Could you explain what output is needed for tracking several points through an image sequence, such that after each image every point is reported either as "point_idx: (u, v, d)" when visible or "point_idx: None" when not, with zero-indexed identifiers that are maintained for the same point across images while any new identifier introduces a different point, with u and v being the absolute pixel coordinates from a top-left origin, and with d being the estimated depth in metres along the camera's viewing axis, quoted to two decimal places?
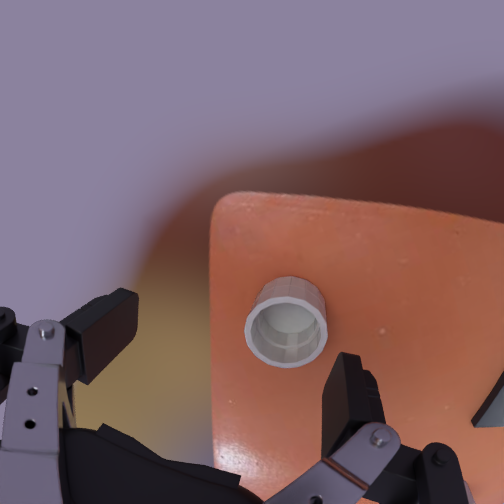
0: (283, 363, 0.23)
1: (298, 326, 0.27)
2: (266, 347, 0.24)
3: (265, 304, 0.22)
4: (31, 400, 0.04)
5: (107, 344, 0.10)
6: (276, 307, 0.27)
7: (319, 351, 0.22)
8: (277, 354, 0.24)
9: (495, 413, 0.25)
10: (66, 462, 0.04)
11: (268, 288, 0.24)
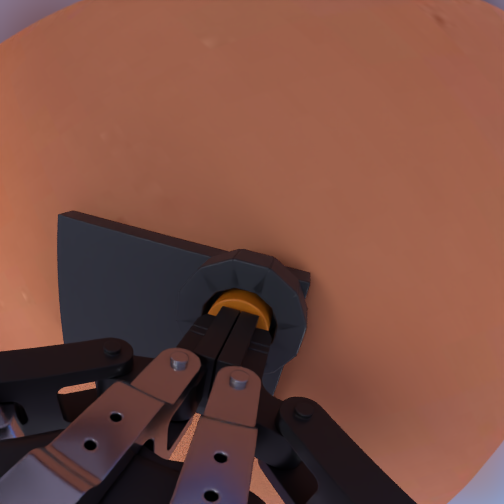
0: None
1: None
2: None
3: None
4: (108, 424, 0.05)
5: None
6: None
7: None
8: None
9: (86, 338, 0.17)
10: None
11: None
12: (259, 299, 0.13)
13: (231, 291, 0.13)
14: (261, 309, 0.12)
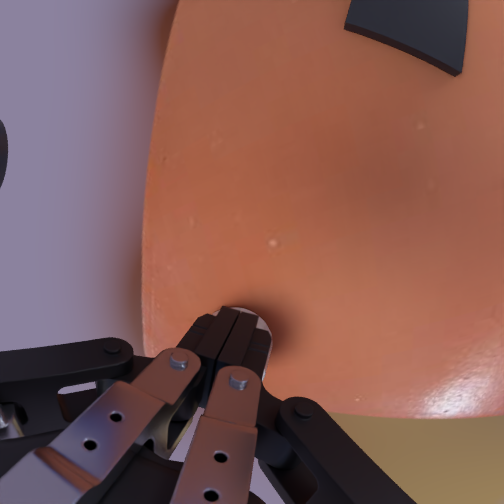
0: None
1: None
2: None
3: None
4: (108, 424, 0.05)
5: None
6: None
7: None
8: None
9: (438, 37, 0.16)
10: None
11: None
12: None
13: None
14: None
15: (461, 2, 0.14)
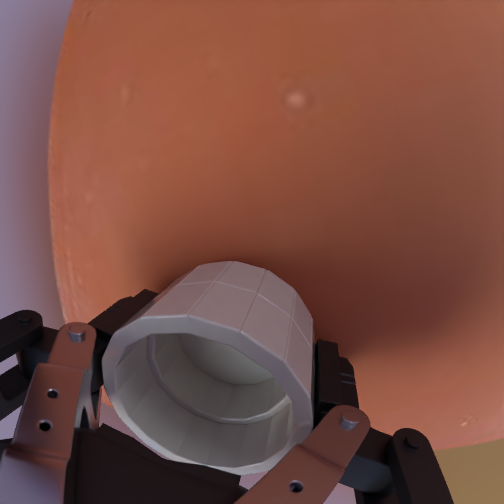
0: (296, 426, 0.07)
1: None
2: (276, 429, 0.09)
3: (134, 429, 0.08)
4: (49, 402, 0.05)
5: None
6: (230, 361, 0.12)
7: (242, 340, 0.07)
8: (291, 416, 0.08)
9: None
10: None
11: None
12: None
13: None
14: None
15: None
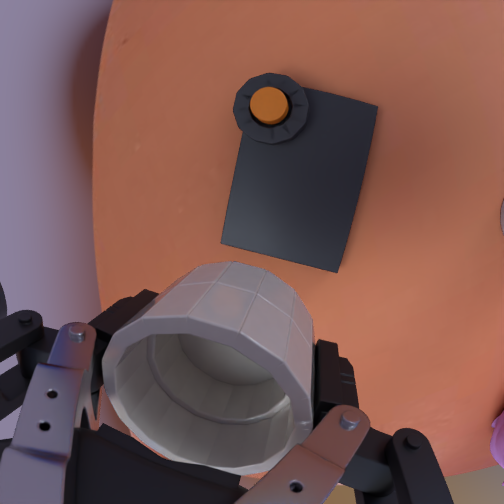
0: (296, 426, 0.07)
1: None
2: (275, 429, 0.09)
3: (134, 429, 0.08)
4: (49, 402, 0.05)
5: None
6: (230, 361, 0.12)
7: (241, 341, 0.07)
8: (291, 416, 0.08)
9: (315, 239, 0.24)
10: None
11: None
12: None
13: None
14: (256, 91, 0.20)
15: (354, 176, 0.22)
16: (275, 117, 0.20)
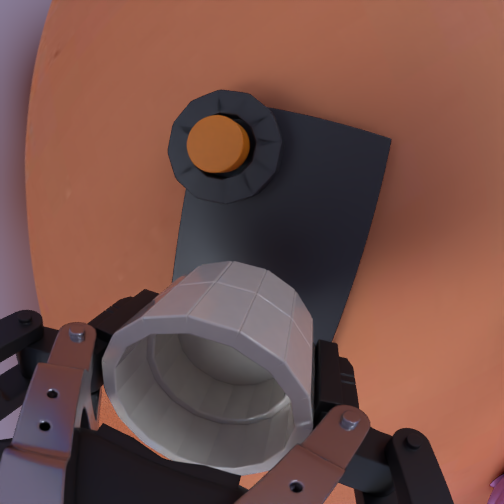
0: (296, 426, 0.07)
1: None
2: (275, 429, 0.09)
3: (134, 429, 0.08)
4: (49, 402, 0.05)
5: None
6: (230, 361, 0.12)
7: (241, 340, 0.07)
8: (291, 416, 0.08)
9: None
10: None
11: None
12: None
13: None
14: (197, 123, 0.13)
15: (350, 248, 0.16)
16: (224, 166, 0.13)
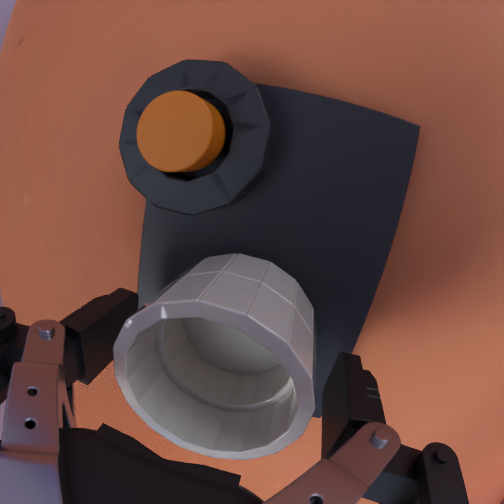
0: (299, 407, 0.08)
1: None
2: (279, 414, 0.09)
3: (142, 415, 0.09)
4: (31, 400, 0.04)
5: (107, 344, 0.10)
6: (235, 351, 0.13)
7: (248, 323, 0.07)
8: (294, 400, 0.09)
9: None
10: (66, 462, 0.04)
11: None
12: None
13: None
14: (151, 104, 0.09)
15: (364, 272, 0.11)
16: (186, 162, 0.09)
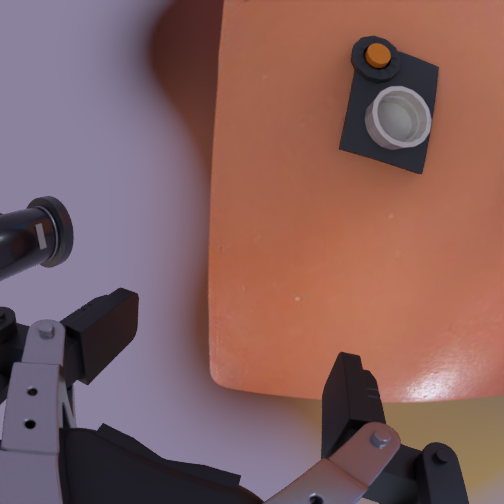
0: (427, 120, 0.24)
1: (404, 116, 0.28)
2: (418, 135, 0.26)
3: (380, 128, 0.25)
4: (31, 400, 0.04)
5: (107, 344, 0.10)
6: (390, 132, 0.29)
7: (413, 92, 0.24)
8: (422, 126, 0.25)
9: (406, 148, 0.30)
10: (66, 462, 0.04)
11: (372, 133, 0.28)
12: (368, 48, 0.26)
13: (367, 57, 0.26)
14: (370, 45, 0.25)
15: None
16: (384, 62, 0.25)
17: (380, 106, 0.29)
